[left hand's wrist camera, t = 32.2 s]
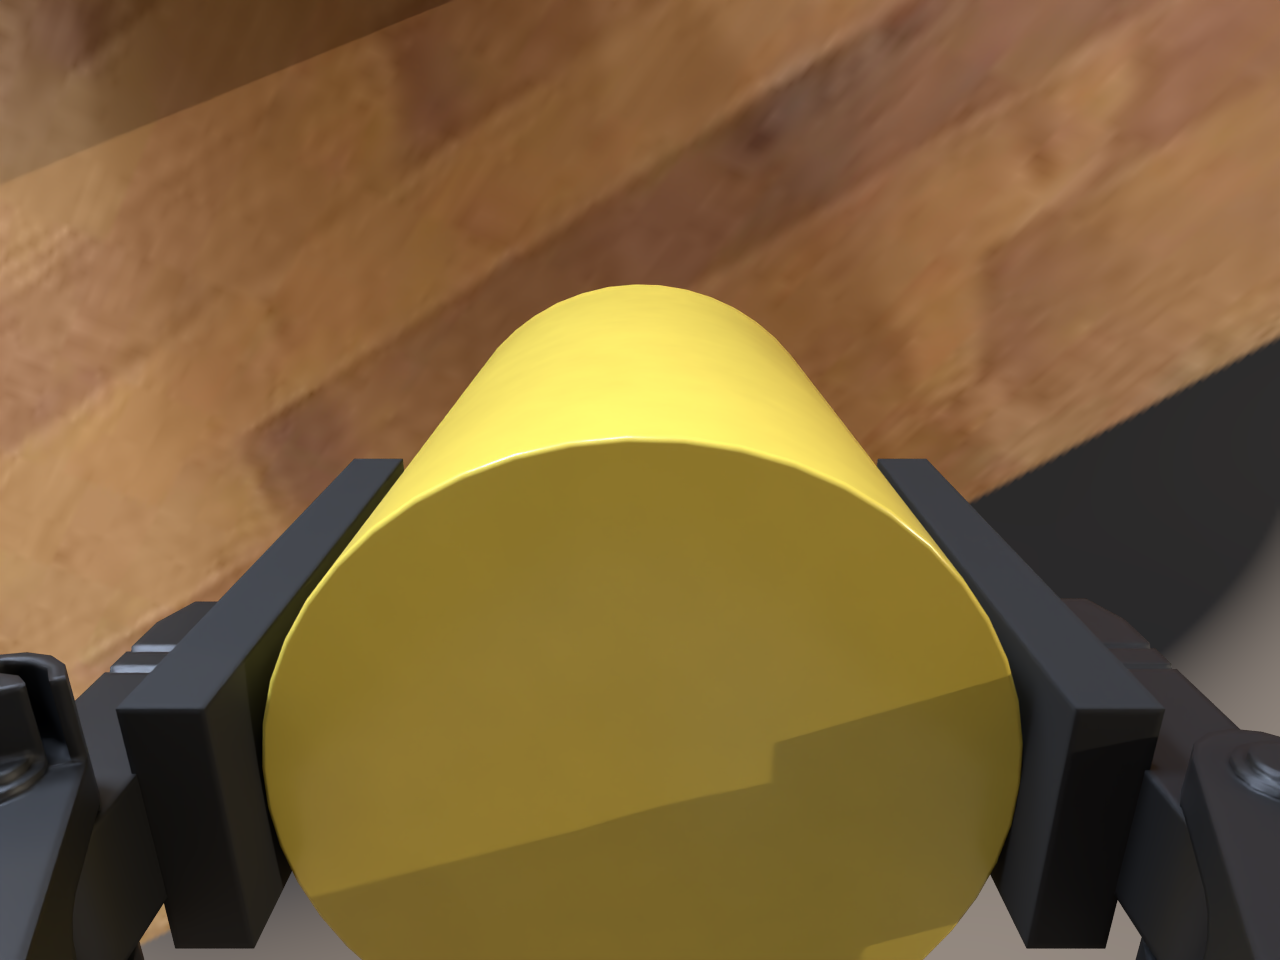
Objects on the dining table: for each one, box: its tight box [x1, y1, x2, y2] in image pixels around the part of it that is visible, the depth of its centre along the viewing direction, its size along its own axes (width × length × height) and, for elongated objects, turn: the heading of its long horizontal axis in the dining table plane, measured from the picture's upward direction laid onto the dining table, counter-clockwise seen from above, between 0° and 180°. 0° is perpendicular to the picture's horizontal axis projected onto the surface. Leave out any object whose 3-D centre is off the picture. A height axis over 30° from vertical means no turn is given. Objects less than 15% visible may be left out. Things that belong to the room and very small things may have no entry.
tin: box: [262, 285, 1023, 960], centre depth 13 cm, size 7×7×9 cm
